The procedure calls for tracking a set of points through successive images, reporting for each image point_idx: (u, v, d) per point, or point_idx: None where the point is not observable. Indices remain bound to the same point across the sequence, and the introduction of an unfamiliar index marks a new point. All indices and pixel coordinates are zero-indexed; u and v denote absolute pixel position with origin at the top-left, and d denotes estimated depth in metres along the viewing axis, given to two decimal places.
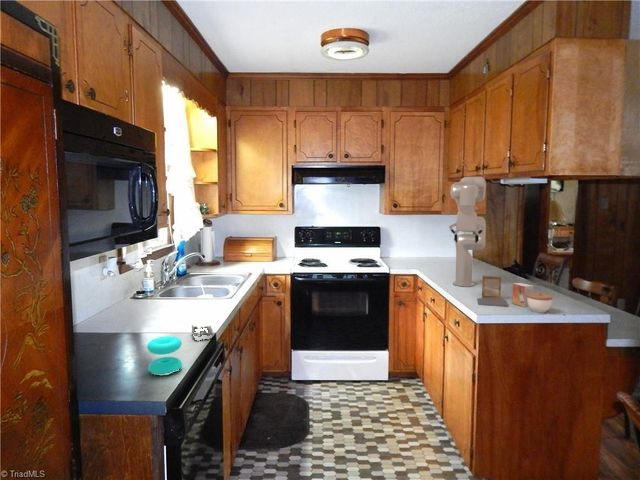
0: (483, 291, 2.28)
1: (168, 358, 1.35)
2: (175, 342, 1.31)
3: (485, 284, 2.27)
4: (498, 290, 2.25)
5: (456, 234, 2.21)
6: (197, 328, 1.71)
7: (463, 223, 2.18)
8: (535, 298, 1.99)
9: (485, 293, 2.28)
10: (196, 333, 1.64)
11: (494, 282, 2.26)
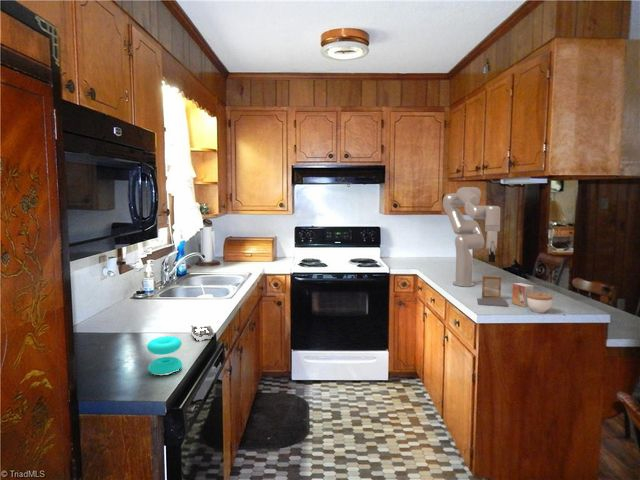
0: (483, 291, 2.28)
1: (168, 358, 1.35)
2: (175, 342, 1.31)
3: (485, 284, 2.27)
4: (498, 290, 2.25)
5: None
6: (196, 328, 1.71)
7: None
8: (535, 298, 1.99)
9: (485, 293, 2.28)
10: (196, 333, 1.64)
11: (494, 282, 2.26)
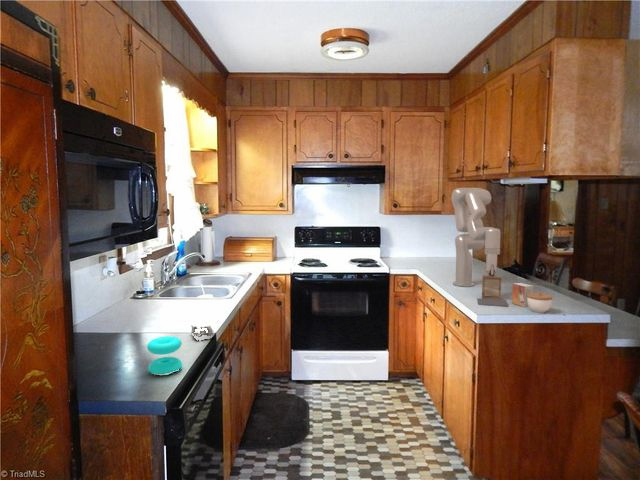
0: (483, 291, 2.27)
1: (168, 358, 1.35)
2: (175, 342, 1.31)
3: (485, 284, 2.26)
4: (498, 291, 2.25)
5: None
6: (196, 328, 1.71)
7: None
8: (535, 298, 1.99)
9: (485, 293, 2.27)
10: (196, 333, 1.64)
11: (494, 282, 2.25)
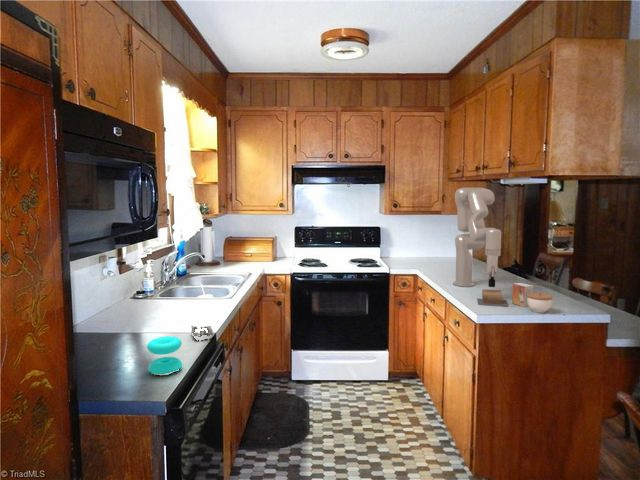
0: None
1: (168, 358, 1.35)
2: (175, 342, 1.31)
3: None
4: None
5: None
6: (196, 328, 1.71)
7: (497, 266, 2.24)
8: (535, 298, 1.99)
9: None
10: (196, 333, 1.64)
11: None
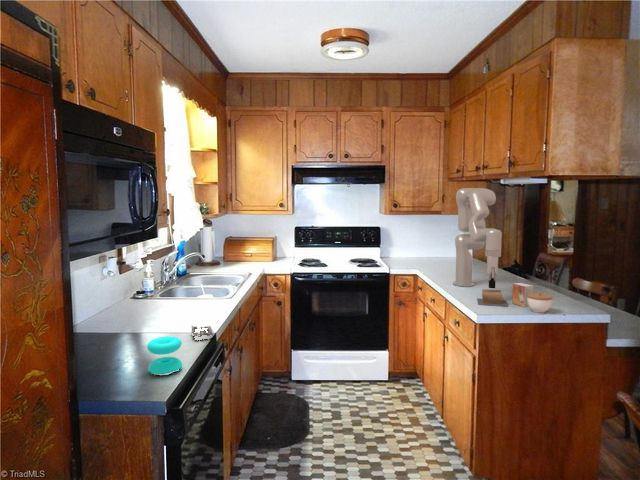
0: None
1: (168, 358, 1.35)
2: (175, 342, 1.31)
3: None
4: None
5: None
6: (196, 328, 1.71)
7: None
8: (535, 298, 1.99)
9: None
10: (196, 333, 1.64)
11: None
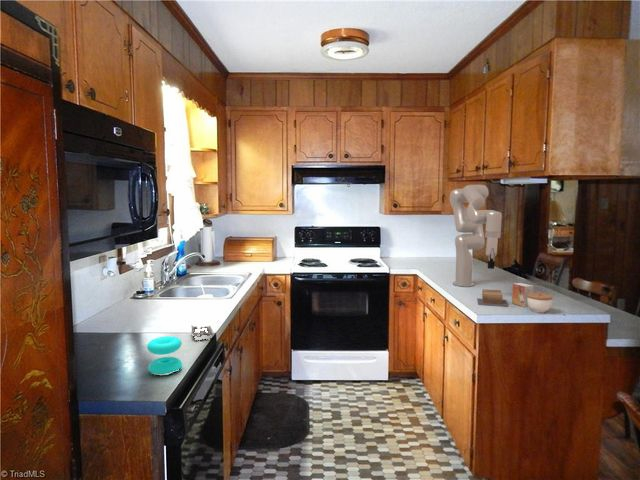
0: None
1: (168, 358, 1.35)
2: (175, 342, 1.31)
3: None
4: None
5: None
6: (196, 328, 1.71)
7: None
8: (535, 298, 1.99)
9: None
10: (196, 333, 1.64)
11: None
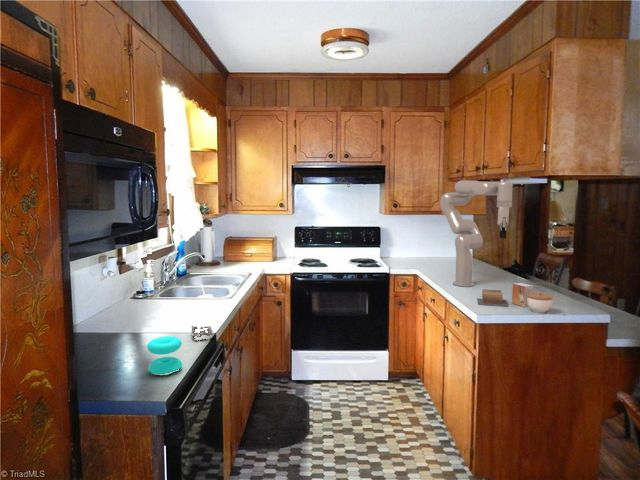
0: None
1: (168, 358, 1.35)
2: (175, 342, 1.31)
3: None
4: None
5: None
6: (196, 328, 1.71)
7: None
8: (535, 298, 1.99)
9: None
10: (196, 333, 1.64)
11: None
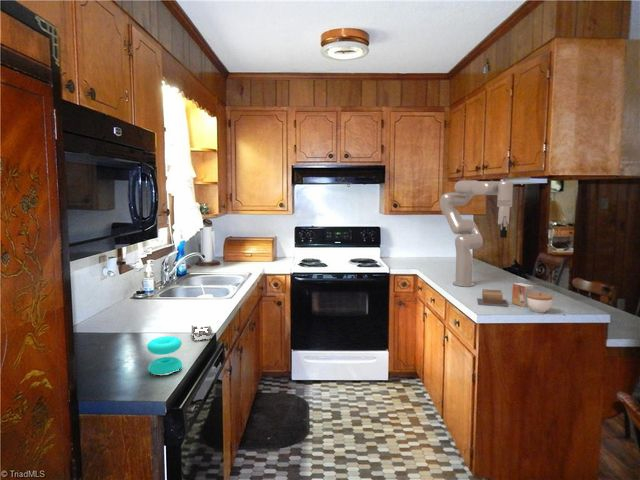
0: None
1: (168, 358, 1.35)
2: (175, 342, 1.31)
3: None
4: None
5: None
6: (197, 328, 1.71)
7: None
8: (535, 298, 1.99)
9: None
10: (195, 333, 1.64)
11: None
